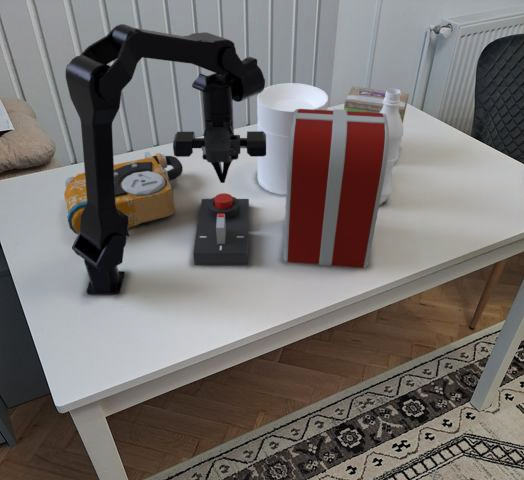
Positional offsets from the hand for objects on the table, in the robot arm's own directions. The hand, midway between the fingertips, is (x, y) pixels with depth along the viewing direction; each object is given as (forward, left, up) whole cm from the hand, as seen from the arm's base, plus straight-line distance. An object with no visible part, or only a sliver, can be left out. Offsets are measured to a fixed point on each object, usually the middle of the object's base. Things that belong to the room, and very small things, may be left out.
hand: (222, 182), depth 113 cm
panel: (-12, 0, -9) cm, 15 cm away
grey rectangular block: (-12, 0, -6) cm, 13 cm away
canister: (+18, -15, -9) cm, 25 cm away
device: (+6, +23, -9) cm, 25 cm away
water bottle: (+8, -35, -9) cm, 38 cm away
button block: (0, 0, -9) cm, 9 cm away
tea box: (+32, -37, -9) cm, 50 cm away
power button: (0, 0, -6) cm, 6 cm away
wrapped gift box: (-9, -22, -9) cm, 26 cm away
